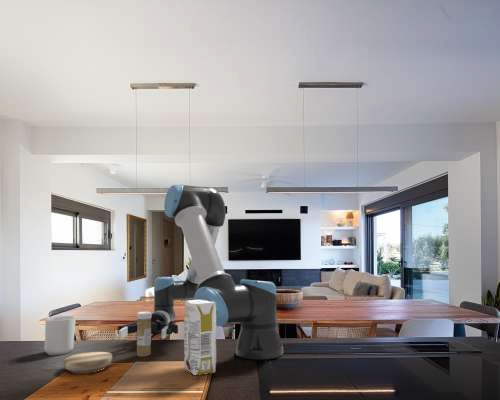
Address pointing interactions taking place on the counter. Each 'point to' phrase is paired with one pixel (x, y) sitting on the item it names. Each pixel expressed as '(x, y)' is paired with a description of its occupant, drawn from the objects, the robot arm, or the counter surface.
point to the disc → (87, 362)
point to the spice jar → (143, 334)
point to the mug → (59, 335)
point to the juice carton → (200, 336)
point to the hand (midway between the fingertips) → (141, 334)
